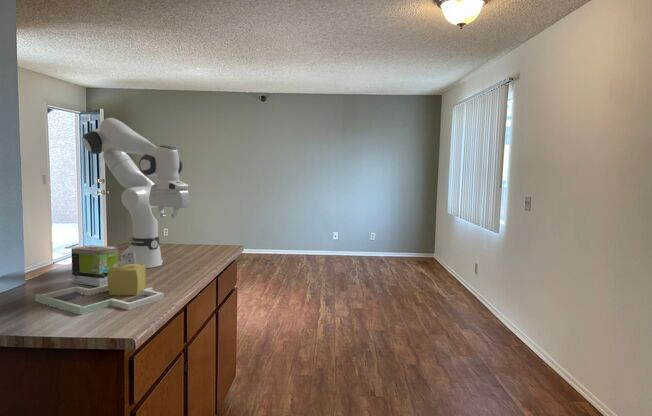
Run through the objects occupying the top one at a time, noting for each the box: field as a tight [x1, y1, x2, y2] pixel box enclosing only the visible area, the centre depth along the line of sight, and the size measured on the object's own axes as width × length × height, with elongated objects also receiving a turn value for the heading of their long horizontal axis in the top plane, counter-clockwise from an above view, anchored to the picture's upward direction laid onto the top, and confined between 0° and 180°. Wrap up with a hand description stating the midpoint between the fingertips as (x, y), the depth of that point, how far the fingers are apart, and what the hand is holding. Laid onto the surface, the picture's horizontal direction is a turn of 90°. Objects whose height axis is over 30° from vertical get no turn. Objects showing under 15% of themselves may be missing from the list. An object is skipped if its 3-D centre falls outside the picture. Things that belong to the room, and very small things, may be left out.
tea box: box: [70, 244, 119, 287], centre depth 167 cm, size 15×10×15 cm
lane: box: [34, 284, 165, 315], centre depth 146 cm, size 35×28×2 cm
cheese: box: [107, 264, 147, 296], centre depth 155 cm, size 10×11×10 cm
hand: (168, 217), depth 170 cm, fingers open, 5 cm apart
